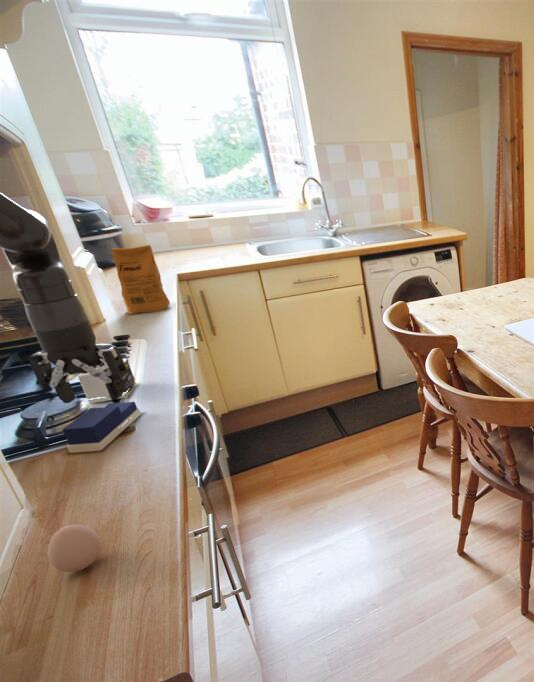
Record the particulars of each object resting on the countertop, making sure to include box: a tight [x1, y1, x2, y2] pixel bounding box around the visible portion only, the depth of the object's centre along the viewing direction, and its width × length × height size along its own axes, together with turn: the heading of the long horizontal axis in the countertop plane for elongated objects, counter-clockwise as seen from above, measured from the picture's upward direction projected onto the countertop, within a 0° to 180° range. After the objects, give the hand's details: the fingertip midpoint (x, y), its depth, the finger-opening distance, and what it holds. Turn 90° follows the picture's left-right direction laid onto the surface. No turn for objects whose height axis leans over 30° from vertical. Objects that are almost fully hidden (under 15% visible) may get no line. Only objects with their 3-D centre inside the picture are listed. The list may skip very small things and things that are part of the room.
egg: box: [46, 524, 102, 573], centre depth 63 cm, size 5×5×7 cm
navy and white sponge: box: [61, 401, 142, 454], centre depth 93 cm, size 13×5×5 cm, turn 8°
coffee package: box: [111, 244, 171, 315], centre depth 159 cm, size 10×12×22 cm
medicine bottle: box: [77, 343, 137, 404], centre depth 106 cm, size 7×7×12 cm
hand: (93, 399), depth 91 cm, fingers open, 8 cm apart
